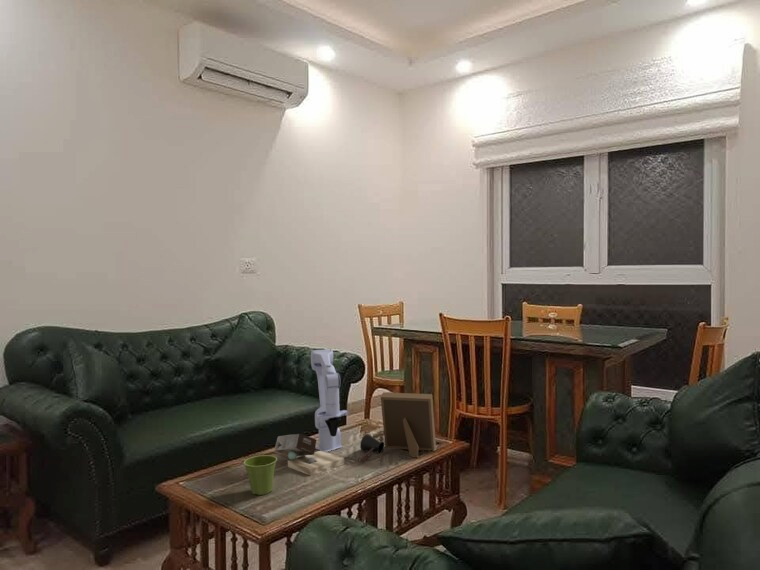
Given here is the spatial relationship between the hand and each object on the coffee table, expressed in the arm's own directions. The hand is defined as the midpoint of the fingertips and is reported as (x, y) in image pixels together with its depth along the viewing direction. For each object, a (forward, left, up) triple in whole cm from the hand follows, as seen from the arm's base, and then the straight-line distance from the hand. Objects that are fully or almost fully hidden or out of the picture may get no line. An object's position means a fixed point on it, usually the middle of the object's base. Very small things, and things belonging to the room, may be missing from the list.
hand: (333, 435), depth 231 cm
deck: (+9, 0, -10) cm, 14 cm away
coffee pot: (-14, +5, -11) cm, 18 cm away
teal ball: (+16, -8, -6) cm, 18 cm away
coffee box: (+12, -19, -6) cm, 23 cm away
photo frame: (-28, +16, -10) cm, 34 cm away
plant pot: (+39, +6, -10) cm, 41 cm away
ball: (+12, -1, -8) cm, 14 cm away
